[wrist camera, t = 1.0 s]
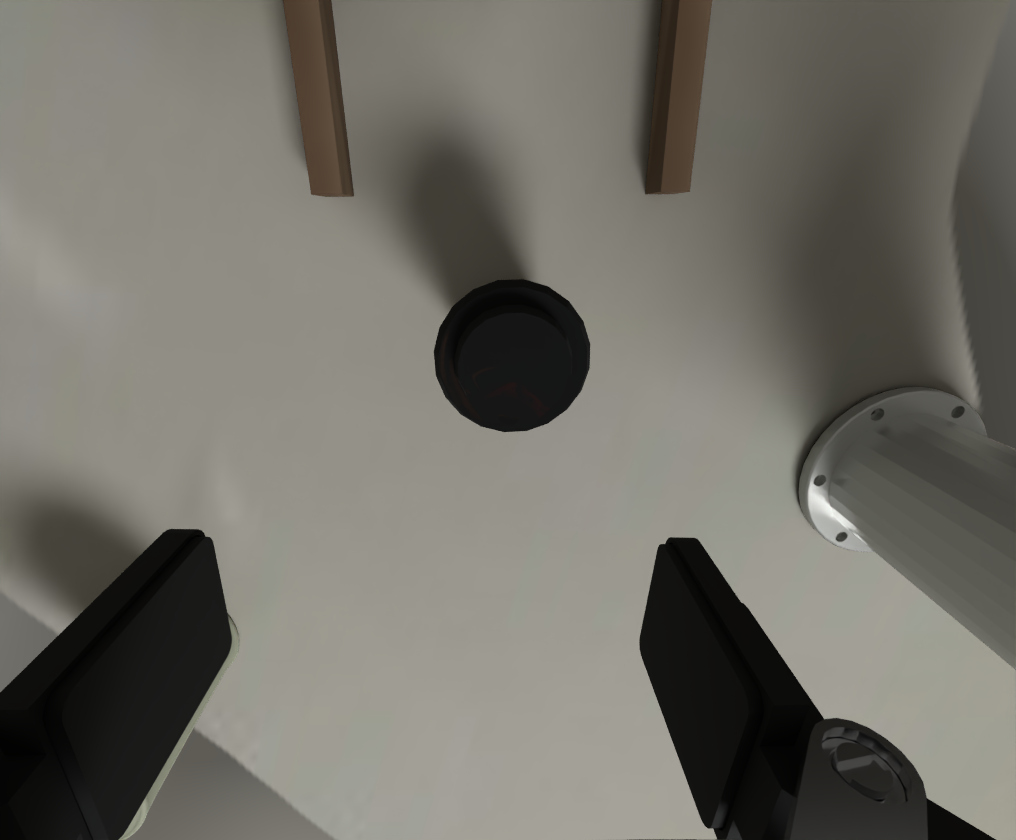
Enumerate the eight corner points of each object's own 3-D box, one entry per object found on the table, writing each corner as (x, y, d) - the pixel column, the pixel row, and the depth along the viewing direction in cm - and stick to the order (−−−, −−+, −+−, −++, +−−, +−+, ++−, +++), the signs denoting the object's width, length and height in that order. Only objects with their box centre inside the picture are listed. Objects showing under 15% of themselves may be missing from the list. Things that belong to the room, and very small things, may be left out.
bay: (713, -203, 22) (756, -280, 18) (671, 193, 28) (698, 190, 24) (269, -218, 21) (230, -302, 17) (325, 196, 27) (304, 193, 23)
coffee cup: (450, 254, 28) (437, 272, 19) (570, 270, 29) (613, 294, 20) (441, 372, 31) (425, 438, 21) (551, 383, 31) (582, 452, 22)
